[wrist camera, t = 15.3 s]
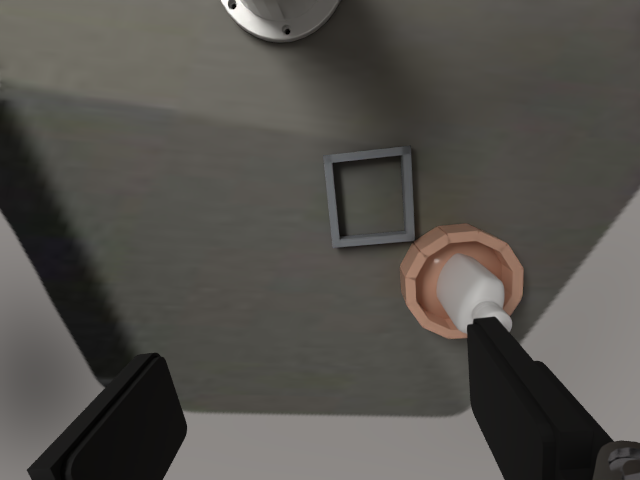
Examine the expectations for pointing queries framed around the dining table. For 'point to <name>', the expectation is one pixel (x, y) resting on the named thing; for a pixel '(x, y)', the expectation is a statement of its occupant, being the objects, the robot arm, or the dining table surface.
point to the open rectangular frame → (406, 191)
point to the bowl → (430, 259)
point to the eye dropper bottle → (470, 292)
